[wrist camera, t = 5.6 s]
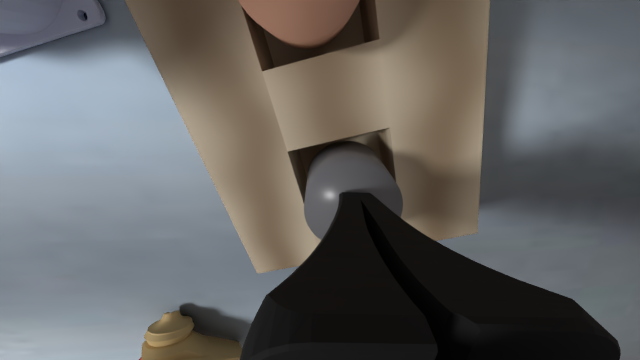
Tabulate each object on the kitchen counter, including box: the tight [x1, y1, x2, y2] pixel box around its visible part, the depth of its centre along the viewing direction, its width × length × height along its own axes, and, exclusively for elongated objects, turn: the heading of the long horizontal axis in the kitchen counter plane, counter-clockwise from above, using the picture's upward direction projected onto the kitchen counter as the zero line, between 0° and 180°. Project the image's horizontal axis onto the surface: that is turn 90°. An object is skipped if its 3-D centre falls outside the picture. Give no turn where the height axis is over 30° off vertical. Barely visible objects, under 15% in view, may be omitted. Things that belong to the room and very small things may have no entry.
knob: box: [304, 141, 403, 240], centre depth 12 cm, size 4×4×4 cm
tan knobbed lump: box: [139, 311, 242, 360], centre depth 23 cm, size 9×10×10 cm
